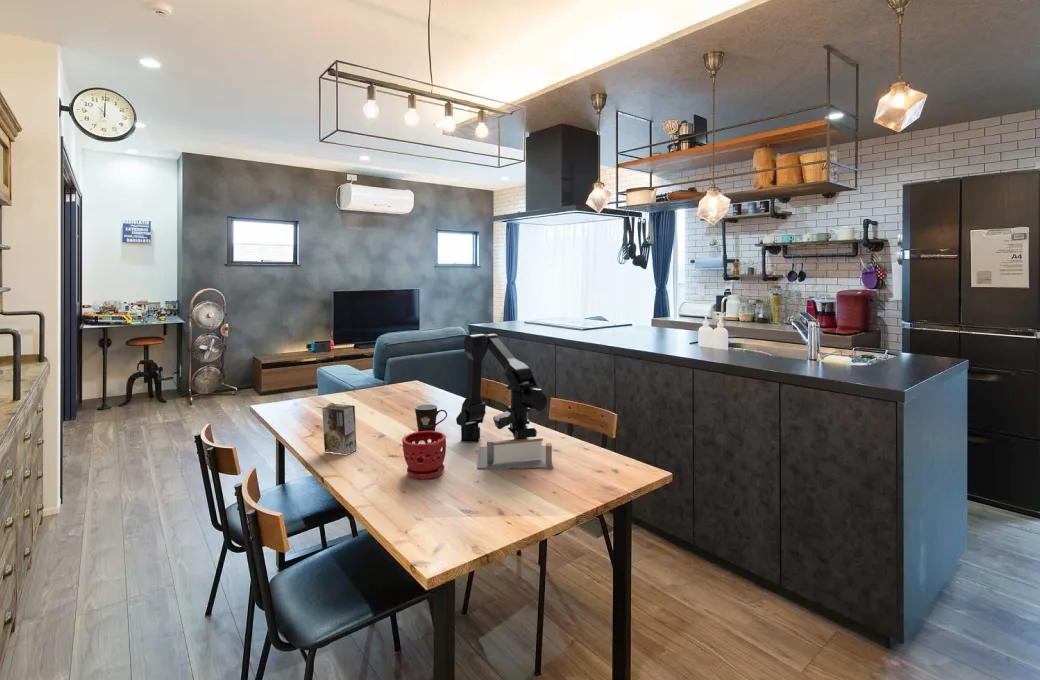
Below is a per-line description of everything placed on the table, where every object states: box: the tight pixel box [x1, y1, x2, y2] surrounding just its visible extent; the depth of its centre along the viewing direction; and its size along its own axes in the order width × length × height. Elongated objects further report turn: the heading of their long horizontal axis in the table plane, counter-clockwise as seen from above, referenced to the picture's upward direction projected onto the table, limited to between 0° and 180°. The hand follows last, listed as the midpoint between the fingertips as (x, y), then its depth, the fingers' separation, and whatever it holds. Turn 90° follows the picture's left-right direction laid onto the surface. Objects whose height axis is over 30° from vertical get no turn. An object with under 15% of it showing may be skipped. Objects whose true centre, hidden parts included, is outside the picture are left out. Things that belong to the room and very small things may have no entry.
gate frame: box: [477, 442, 554, 470], centre depth 185 cm, size 24×21×7 cm
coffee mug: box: [414, 403, 448, 432], centre depth 214 cm, size 12×9×10 cm
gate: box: [486, 436, 544, 464], centre depth 179 cm, size 18×2×7 cm, turn 107°
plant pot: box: [402, 430, 447, 480], centre depth 170 cm, size 13×13×12 cm
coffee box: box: [321, 403, 357, 454], centre depth 191 cm, size 9×6×16 cm
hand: (518, 450), depth 184 cm, fingers closed
